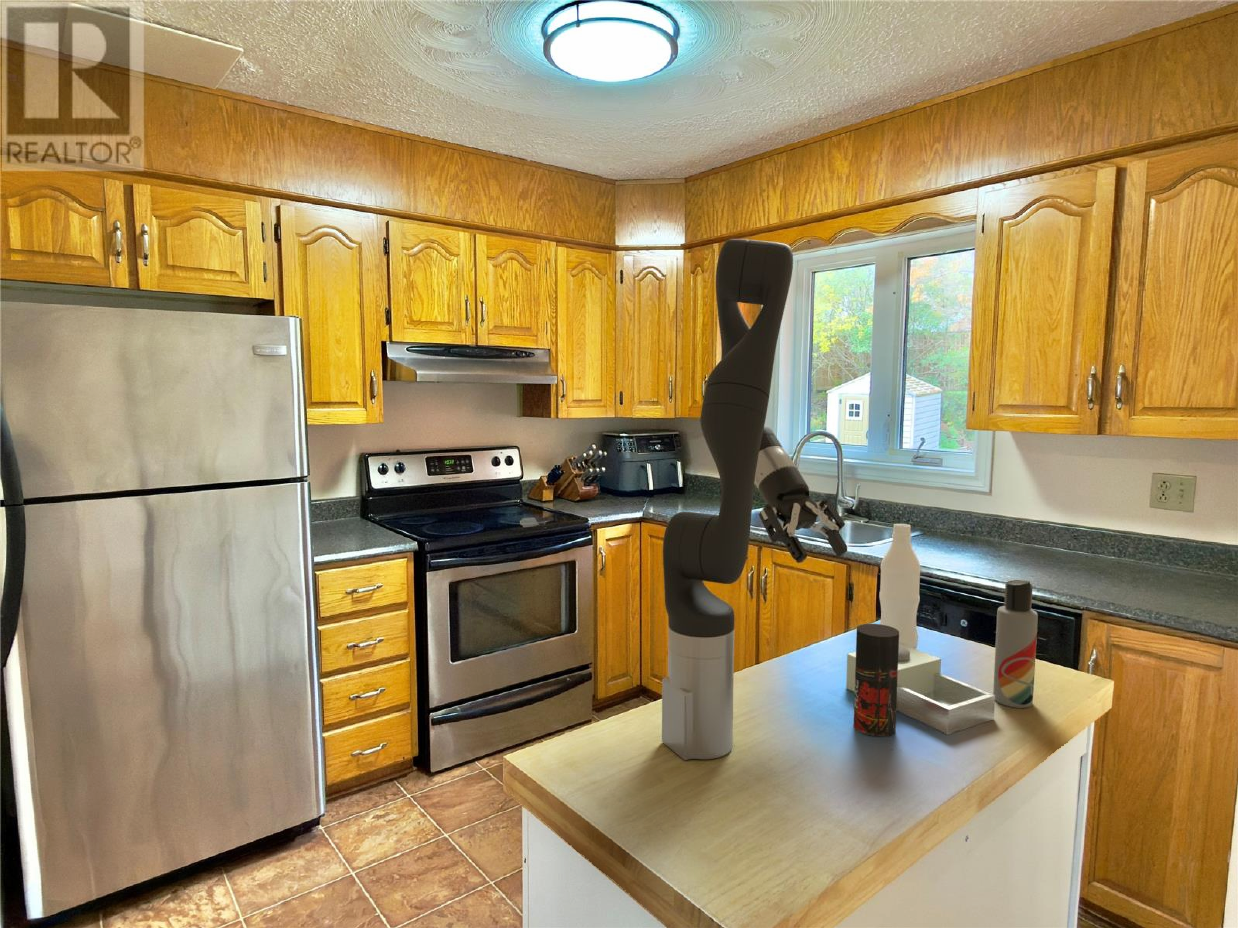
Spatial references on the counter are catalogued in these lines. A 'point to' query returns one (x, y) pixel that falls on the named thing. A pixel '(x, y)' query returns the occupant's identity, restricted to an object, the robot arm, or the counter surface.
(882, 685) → the deodorant
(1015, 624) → the lotion bottle
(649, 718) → the counter surface
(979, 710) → the white open box
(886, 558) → the water bottle
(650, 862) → the counter surface
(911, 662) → the cream rectangular block
